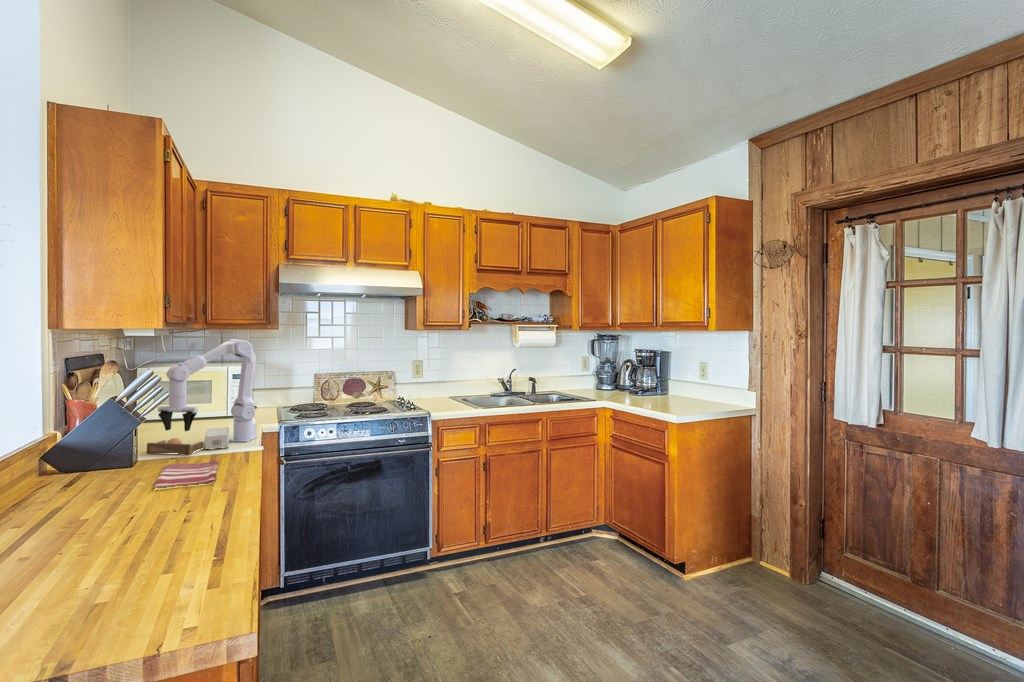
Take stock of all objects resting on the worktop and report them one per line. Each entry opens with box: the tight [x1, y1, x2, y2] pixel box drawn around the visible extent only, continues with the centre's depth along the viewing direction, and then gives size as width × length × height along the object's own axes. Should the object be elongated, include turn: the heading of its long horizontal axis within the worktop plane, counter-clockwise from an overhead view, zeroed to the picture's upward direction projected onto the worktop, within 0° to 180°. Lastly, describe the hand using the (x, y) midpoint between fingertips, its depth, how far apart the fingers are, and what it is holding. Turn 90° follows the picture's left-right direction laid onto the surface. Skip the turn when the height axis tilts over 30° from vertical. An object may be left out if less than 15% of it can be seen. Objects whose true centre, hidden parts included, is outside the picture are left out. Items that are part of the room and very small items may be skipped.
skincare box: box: [204, 426, 230, 450], centre depth 209 cm, size 8×6×15 cm
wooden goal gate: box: [146, 439, 204, 456], centre depth 198 cm, size 9×17×4 cm, turn 90°
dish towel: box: [153, 460, 219, 489], centre depth 169 cm, size 17×23×3 cm
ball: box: [166, 437, 183, 444], centre depth 199 cm, size 5×5×5 cm
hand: (177, 430), depth 199 cm, fingers open, 7 cm apart
